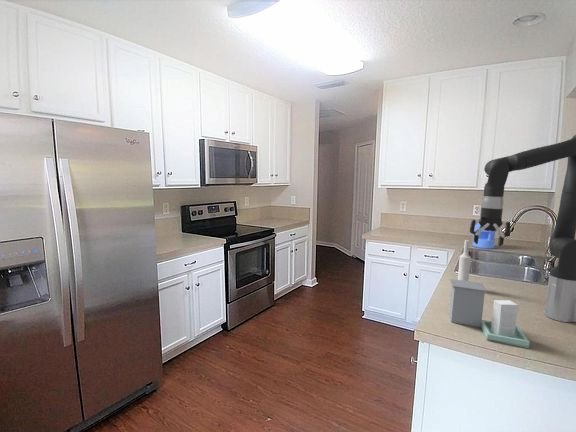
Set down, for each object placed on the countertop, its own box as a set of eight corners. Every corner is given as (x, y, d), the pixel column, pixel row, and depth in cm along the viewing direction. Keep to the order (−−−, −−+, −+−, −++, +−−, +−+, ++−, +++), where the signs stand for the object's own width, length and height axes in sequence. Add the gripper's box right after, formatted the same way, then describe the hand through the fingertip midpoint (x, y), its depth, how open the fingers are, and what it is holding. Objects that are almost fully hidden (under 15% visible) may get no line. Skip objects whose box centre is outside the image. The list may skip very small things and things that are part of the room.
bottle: (462, 289, 154) (467, 241, 151) (454, 286, 159) (458, 239, 156) (470, 289, 156) (475, 241, 152) (462, 285, 161) (466, 239, 157)
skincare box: (506, 331, 111) (509, 299, 110) (514, 337, 107) (519, 304, 106) (489, 330, 111) (493, 299, 110) (498, 337, 107) (501, 304, 106)
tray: (517, 331, 113) (518, 326, 112) (528, 348, 101) (529, 342, 101) (479, 325, 117) (480, 319, 117) (486, 340, 106) (487, 334, 106)
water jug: (468, 244, 264) (471, 213, 261) (485, 245, 265) (489, 213, 262) (480, 249, 249) (484, 215, 245) (498, 249, 250) (502, 215, 246)
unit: (478, 318, 123) (482, 283, 121) (483, 328, 114) (487, 290, 112) (447, 312, 127) (450, 278, 125) (449, 322, 118) (453, 286, 117)
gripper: (474, 206, 127) (470, 244, 129) (515, 208, 122) (510, 248, 124) (471, 205, 134) (467, 241, 136) (509, 207, 129) (505, 244, 131)
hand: (487, 244), depth 130 cm, fingers open, 8 cm apart
